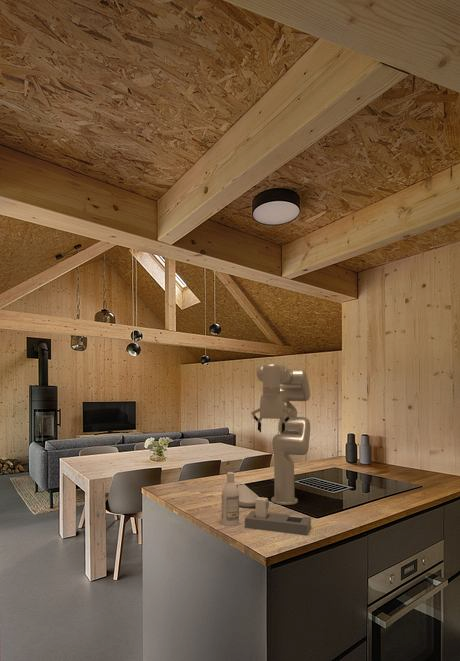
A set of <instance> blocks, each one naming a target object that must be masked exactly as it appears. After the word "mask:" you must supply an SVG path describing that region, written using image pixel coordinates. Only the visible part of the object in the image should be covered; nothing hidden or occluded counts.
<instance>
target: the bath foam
mask: <svg viewBox="0 0 460 661" xmlns="http://www.w3.org/2000/svg"><path fill="white" fill-rule="evenodd" d="M236 485H237V484H236V483H235V472H232V471H228V472H227V473H226V483H225V484H224V486H223V488H222V490H221V525H223V526H225V527H236V526H238V525H239V524H240V506H239V491H238V488H237V486H236Z"/></svg>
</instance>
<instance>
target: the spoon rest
mask: <svg viewBox="0 0 460 661" xmlns="http://www.w3.org/2000/svg"><path fill="white" fill-rule="evenodd" d="M236 486H237V488H238V491H239V507H241V508H245V509H246V508H247V509H249V508H253V507H256V499H257V498H258V497H260V496H259V495H258V494H256V493H255V492H254V491H253V490H252V489H250V488H249V487H248V486H247V485H246V484H244V483H243V484H238V483H237V484H236Z"/></svg>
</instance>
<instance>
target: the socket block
mask: <svg viewBox="0 0 460 661" xmlns="http://www.w3.org/2000/svg"><path fill="white" fill-rule="evenodd" d="M311 519H312V517H310V516H302V515H293V514H283V513H273V512H268V518H267V519H264V518H256V510H251V511H250V512H249V513H248V514H247V515H246V517H245V518H244V529H251V530H259V531H266V532H267V531H268V532H276V533H283V534H291V535H300V536H308V534H309V532H310V530H311V527H312V524H311V522H312V520H311Z"/></svg>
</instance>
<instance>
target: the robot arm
mask: <svg viewBox="0 0 460 661" xmlns="http://www.w3.org/2000/svg"><path fill="white" fill-rule="evenodd" d="M256 378H257V379H258V380H259V381H260V382H262V394H261V395H260V400H259V408H257V409H255V410H253V411H251V416H252V417H253V419H254V420H255V422H256V423H257V431H258V432H259V433H261V432H262V422H261V421H262V420H263V419H272V420H273V419H275V420H278V421H279V422H278V427H277V428H278V434H274V436H273V438H272V439H271V440H272V442H271V443H272V444H271V445H272V451H273V462H274V463H273V464H274V468H273V469H274V470H273V471H274V476H273V477H274V480H273V481H274V496H272V497H271V502H272V503H274V504H276V505H283V506H287V505H288V506H290V505H291V506H292V505H296V504H297V503H299V502H298V501H299V499H298V498H297V497H295V464H294V460H293V459H292V457H291V455H293V456H306V455H307V454H308V452H309V449H310V439H311V438H310V437H311V422H310V419H308V418H307V417H304V416H298V410H297V408H296V407H295V406H294V404H293V403H291V402H308V401H309V400H310V398H311V390H310V384H309V377H308V375H307V372H306V371H305V370H304V369H303V368H288V367H287V366H285V365H283V364H277V363H265V364H260V365H259V366H258V367H257V369H256ZM257 413H259V418H258V416H256V414H257Z"/></svg>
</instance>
